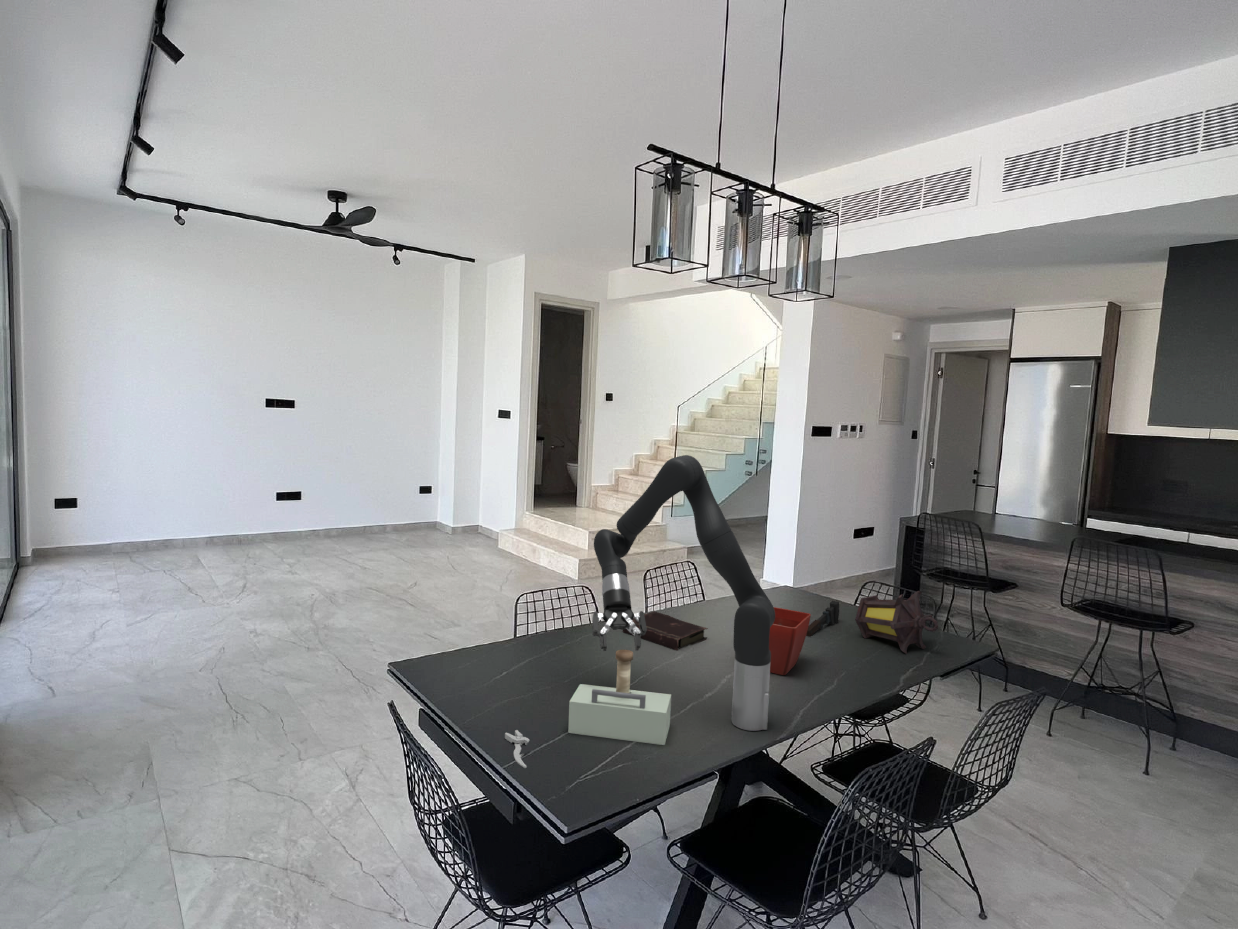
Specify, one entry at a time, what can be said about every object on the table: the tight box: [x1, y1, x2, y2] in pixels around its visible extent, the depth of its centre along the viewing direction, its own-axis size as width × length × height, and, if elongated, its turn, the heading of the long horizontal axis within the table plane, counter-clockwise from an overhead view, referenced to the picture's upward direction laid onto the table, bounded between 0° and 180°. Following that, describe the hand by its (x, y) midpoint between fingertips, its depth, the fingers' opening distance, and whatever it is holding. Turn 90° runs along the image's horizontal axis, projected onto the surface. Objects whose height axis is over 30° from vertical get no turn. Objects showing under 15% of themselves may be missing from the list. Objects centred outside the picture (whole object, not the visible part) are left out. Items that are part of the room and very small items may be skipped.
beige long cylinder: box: [615, 649, 634, 699], centre depth 175 cm, size 4×4×19 cm
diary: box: [622, 610, 708, 651], centre depth 249 cm, size 19×25×5 cm
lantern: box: [855, 590, 939, 655], centre depth 248 cm, size 22×23×30 cm
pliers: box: [504, 729, 530, 769], centre depth 164 cm, size 10×2×15 cm
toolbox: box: [567, 683, 672, 746], centre depth 174 cm, size 24×11×12 cm, turn 79°
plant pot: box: [769, 606, 812, 676], centre depth 223 cm, size 19×19×17 cm
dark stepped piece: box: [806, 600, 840, 638], centre depth 264 cm, size 8×3×25 cm
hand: (621, 649), depth 180 cm, fingers open, 8 cm apart
